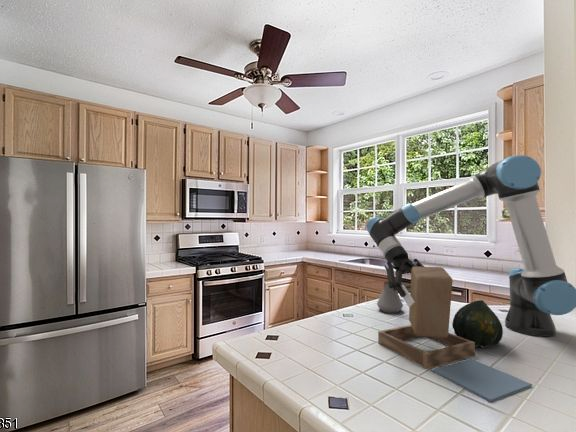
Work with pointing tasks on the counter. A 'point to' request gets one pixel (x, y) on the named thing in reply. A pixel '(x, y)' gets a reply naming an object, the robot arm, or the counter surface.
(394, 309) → the coffee pot
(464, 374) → the rubber mat
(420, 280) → the block
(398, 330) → the walnut frame
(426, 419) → the counter surface
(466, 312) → the squash
